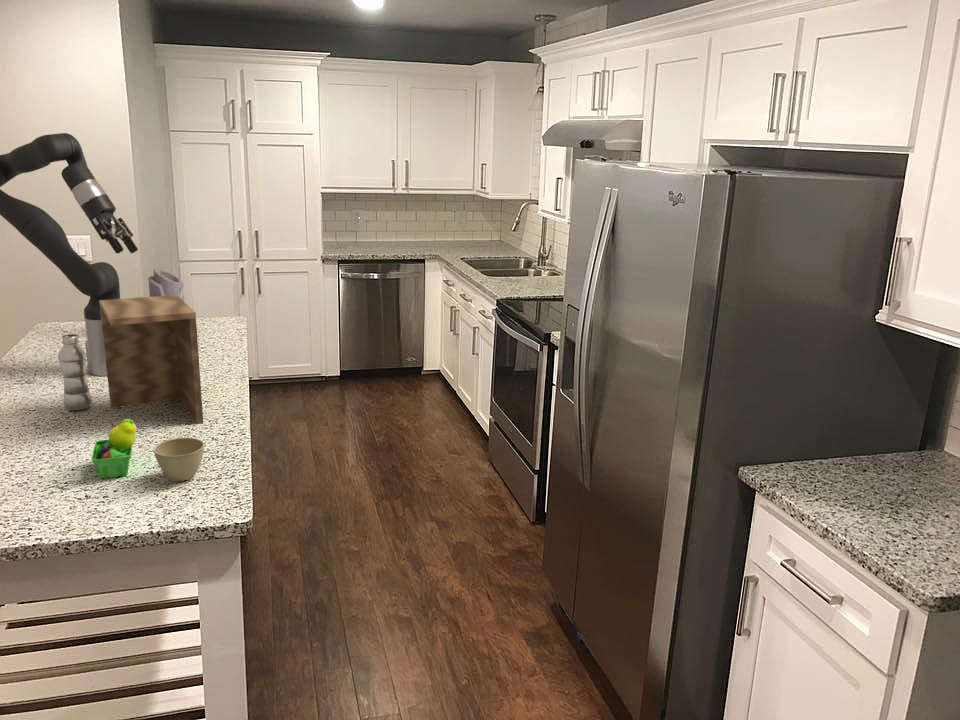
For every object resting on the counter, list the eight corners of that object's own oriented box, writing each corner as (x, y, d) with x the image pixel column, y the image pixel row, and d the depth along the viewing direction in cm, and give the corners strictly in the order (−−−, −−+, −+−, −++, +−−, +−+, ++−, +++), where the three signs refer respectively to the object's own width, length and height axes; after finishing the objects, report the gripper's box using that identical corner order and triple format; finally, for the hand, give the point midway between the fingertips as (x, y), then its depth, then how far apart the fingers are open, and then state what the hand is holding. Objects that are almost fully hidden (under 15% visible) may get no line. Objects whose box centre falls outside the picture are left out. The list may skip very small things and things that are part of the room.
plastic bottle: (81, 414, 197) (72, 340, 191) (58, 411, 198) (49, 337, 193) (98, 406, 203) (90, 334, 198) (75, 403, 204) (67, 331, 199)
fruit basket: (97, 461, 170) (92, 414, 167) (140, 456, 173) (136, 410, 170) (93, 482, 160) (87, 432, 157) (139, 477, 163) (134, 428, 160)
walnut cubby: (122, 435, 185) (110, 319, 176) (110, 406, 203) (99, 300, 195) (203, 423, 194) (195, 312, 186) (185, 396, 213) (177, 294, 205)
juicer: (203, 330, 285) (199, 265, 278) (195, 341, 269) (190, 272, 263) (118, 330, 280) (112, 264, 273) (105, 341, 265) (97, 272, 258)
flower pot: (164, 467, 168) (162, 437, 166) (211, 467, 169) (209, 437, 167) (149, 487, 159) (146, 455, 157) (199, 487, 159) (196, 455, 157)
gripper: (95, 209, 214) (128, 258, 216) (68, 206, 200) (103, 259, 202) (117, 195, 214) (150, 244, 216) (91, 191, 200) (126, 244, 201)
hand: (127, 251), depth 209 cm, fingers open, 8 cm apart
